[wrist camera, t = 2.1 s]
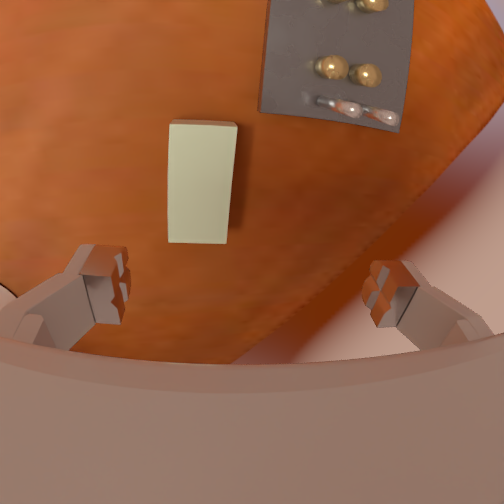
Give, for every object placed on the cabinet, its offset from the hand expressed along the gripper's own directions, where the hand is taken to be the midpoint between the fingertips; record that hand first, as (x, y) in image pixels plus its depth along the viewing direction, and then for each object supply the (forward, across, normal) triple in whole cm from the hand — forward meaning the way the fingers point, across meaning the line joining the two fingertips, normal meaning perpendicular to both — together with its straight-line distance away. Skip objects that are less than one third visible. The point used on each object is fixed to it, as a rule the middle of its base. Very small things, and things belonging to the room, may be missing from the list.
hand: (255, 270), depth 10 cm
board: (+18, -2, -3) cm, 18 cm away
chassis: (+18, +8, +11) cm, 23 cm away
